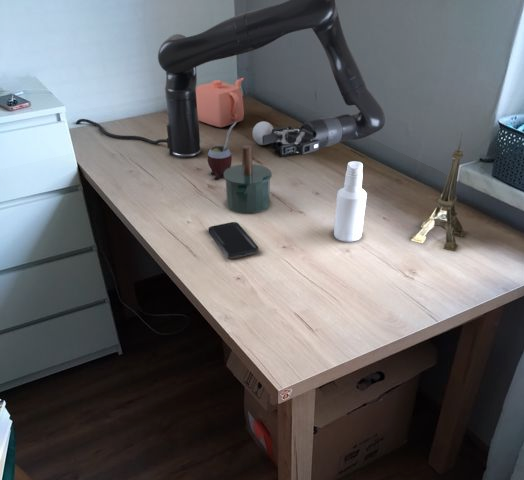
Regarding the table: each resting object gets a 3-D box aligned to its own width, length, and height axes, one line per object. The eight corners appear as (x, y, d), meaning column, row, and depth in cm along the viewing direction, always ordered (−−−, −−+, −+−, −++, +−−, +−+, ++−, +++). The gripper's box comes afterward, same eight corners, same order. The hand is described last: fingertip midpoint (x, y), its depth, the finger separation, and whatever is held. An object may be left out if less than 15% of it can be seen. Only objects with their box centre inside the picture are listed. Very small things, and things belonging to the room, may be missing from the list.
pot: (219, 216, 143) (218, 187, 138) (235, 189, 156) (234, 161, 150) (262, 220, 141) (262, 190, 136) (274, 192, 154) (275, 164, 149)
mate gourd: (204, 178, 162) (200, 126, 152) (217, 168, 167) (214, 117, 157) (226, 182, 159) (224, 130, 149) (239, 172, 165) (237, 121, 155)
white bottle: (363, 231, 137) (373, 160, 125) (358, 244, 132) (367, 171, 120) (337, 227, 138) (343, 156, 127) (330, 239, 134) (336, 167, 122)
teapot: (263, 119, 202) (263, 78, 193) (225, 132, 191) (223, 90, 182) (226, 107, 212) (224, 68, 203) (187, 119, 201) (184, 79, 192)
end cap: (297, 145, 182) (298, 124, 177) (307, 152, 177) (308, 131, 172) (269, 149, 179) (270, 128, 174) (278, 157, 174) (278, 135, 169)
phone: (236, 221, 138) (259, 248, 128) (236, 225, 139) (259, 253, 129) (206, 227, 136) (228, 255, 126) (207, 231, 137) (228, 260, 126)
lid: (218, 185, 140) (216, 153, 135) (230, 166, 149) (229, 136, 144) (266, 189, 138) (266, 157, 133) (275, 170, 147) (276, 139, 142)
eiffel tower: (454, 251, 129) (482, 145, 113) (411, 240, 133) (431, 136, 117) (465, 232, 136) (492, 129, 120) (424, 222, 140) (444, 121, 124)
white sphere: (279, 145, 181) (279, 122, 177) (260, 150, 178) (260, 127, 173) (262, 136, 188) (262, 114, 183) (244, 141, 185) (243, 118, 180)
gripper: (306, 111, 151) (257, 122, 144) (339, 126, 142) (288, 138, 135) (305, 139, 156) (257, 151, 149) (336, 155, 147) (287, 168, 140)
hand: (272, 145), depth 142 cm, fingers open, 8 cm apart
